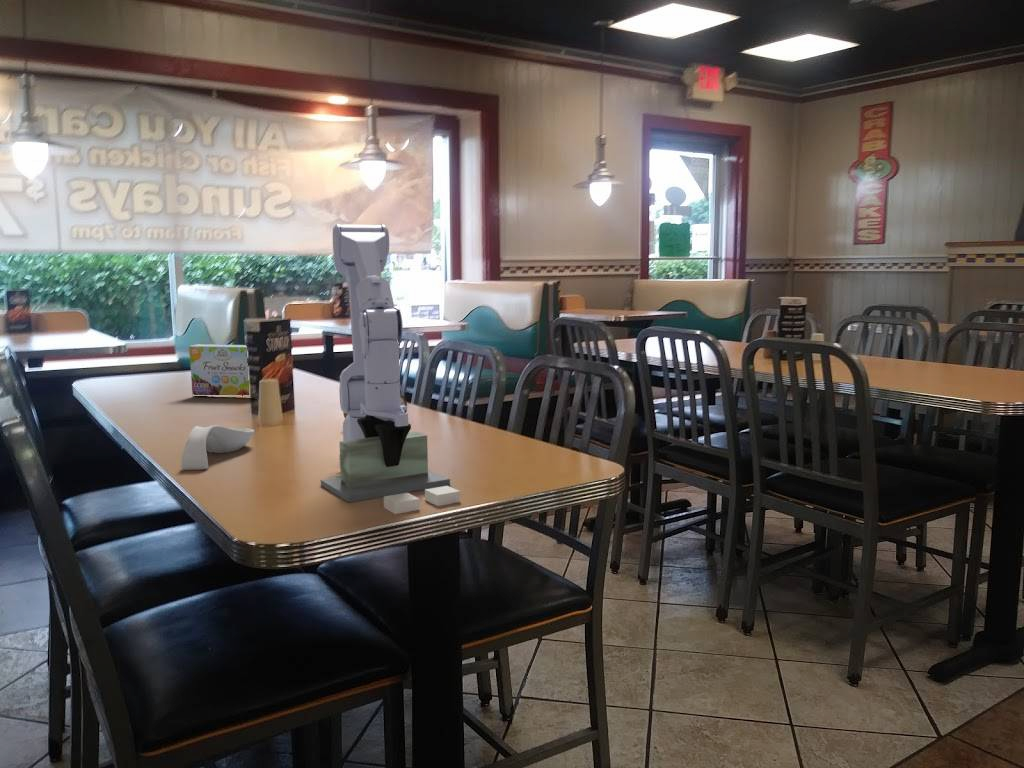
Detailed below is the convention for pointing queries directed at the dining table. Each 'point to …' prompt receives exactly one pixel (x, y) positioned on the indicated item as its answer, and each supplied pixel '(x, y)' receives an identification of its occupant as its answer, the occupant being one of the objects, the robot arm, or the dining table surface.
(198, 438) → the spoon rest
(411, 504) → the chalk tile
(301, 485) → the dining table surface
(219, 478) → the dining table surface
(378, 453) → the block
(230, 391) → the snack box
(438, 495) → the chalk tile
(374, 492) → the slate board
